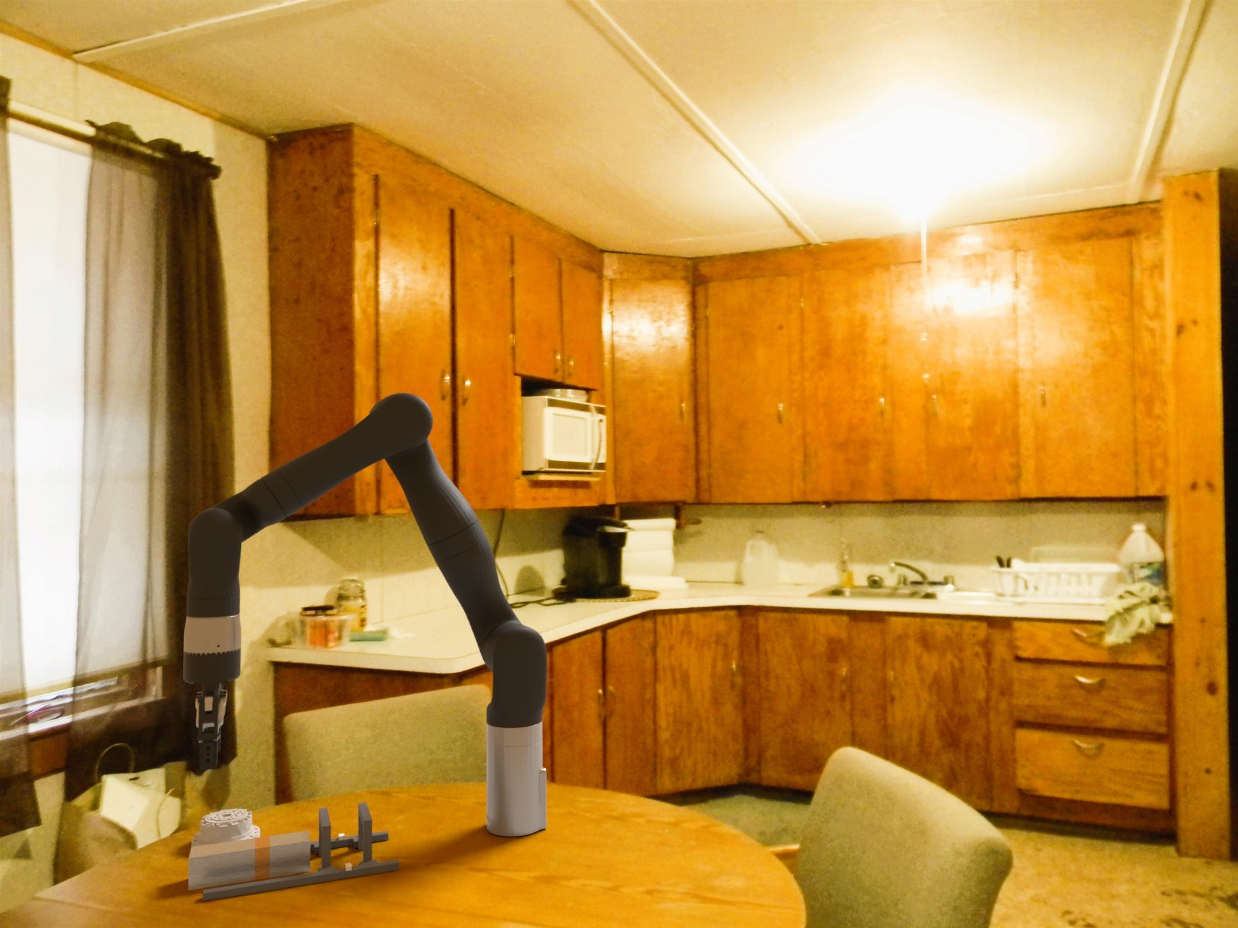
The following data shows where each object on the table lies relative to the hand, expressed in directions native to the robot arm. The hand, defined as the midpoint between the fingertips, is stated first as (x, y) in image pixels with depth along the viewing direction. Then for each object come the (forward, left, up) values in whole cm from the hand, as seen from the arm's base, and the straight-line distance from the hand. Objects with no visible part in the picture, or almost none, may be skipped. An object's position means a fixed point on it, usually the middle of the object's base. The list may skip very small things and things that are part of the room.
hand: (210, 760), depth 126 cm
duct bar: (-6, 0, -17) cm, 18 cm away
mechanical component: (-2, -15, -17) cm, 23 cm away
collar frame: (-13, 0, -17) cm, 21 cm away
